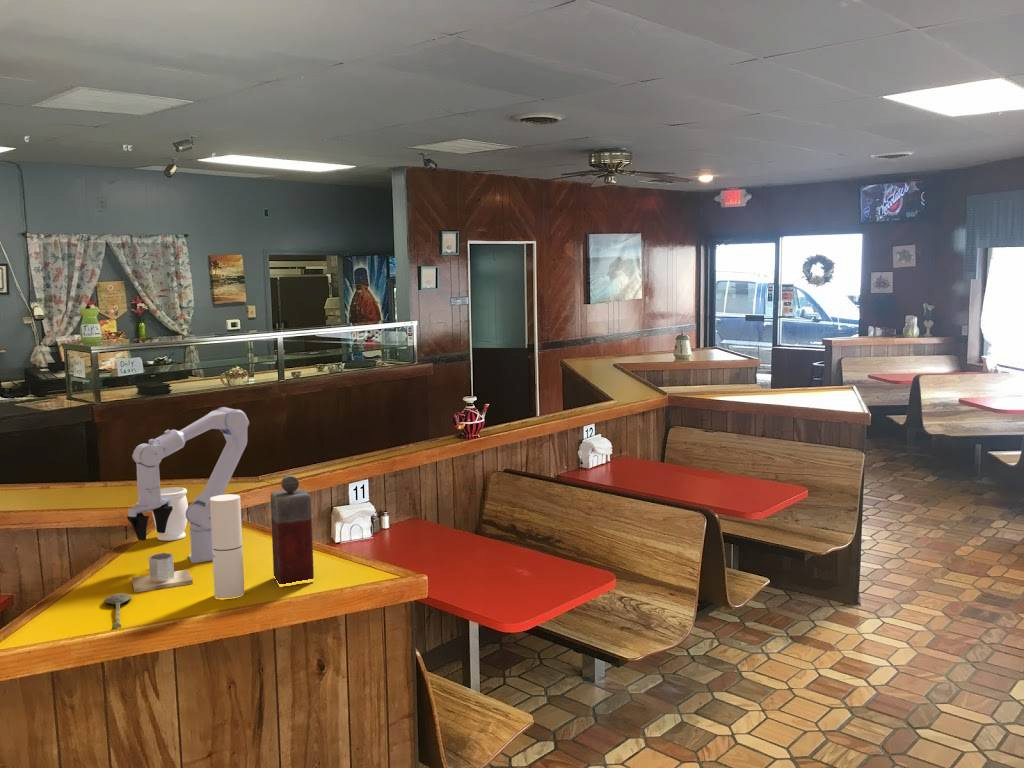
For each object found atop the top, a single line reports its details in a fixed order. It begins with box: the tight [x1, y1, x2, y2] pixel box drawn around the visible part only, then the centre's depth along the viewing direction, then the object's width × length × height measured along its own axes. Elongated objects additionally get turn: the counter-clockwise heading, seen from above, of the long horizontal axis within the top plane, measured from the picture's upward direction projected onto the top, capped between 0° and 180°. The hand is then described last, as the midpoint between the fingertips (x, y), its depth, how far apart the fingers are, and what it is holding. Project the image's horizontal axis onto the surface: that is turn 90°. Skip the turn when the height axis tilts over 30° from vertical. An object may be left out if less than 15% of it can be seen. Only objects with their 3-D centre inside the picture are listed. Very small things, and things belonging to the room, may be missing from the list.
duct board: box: [131, 569, 194, 593], centre depth 227 cm, size 14×10×5 cm
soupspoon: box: [103, 593, 133, 629], centre depth 206 cm, size 22×3×7 cm
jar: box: [151, 486, 189, 542], centre depth 269 cm, size 11×10×15 cm
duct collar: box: [148, 552, 175, 583], centre depth 227 cm, size 6×6×6 cm
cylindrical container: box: [210, 493, 245, 598], centre depth 215 cm, size 7×7×25 cm
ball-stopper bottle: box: [270, 474, 315, 584], centre depth 227 cm, size 9×11×28 cm
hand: (151, 536), depth 237 cm, fingers open, 7 cm apart
